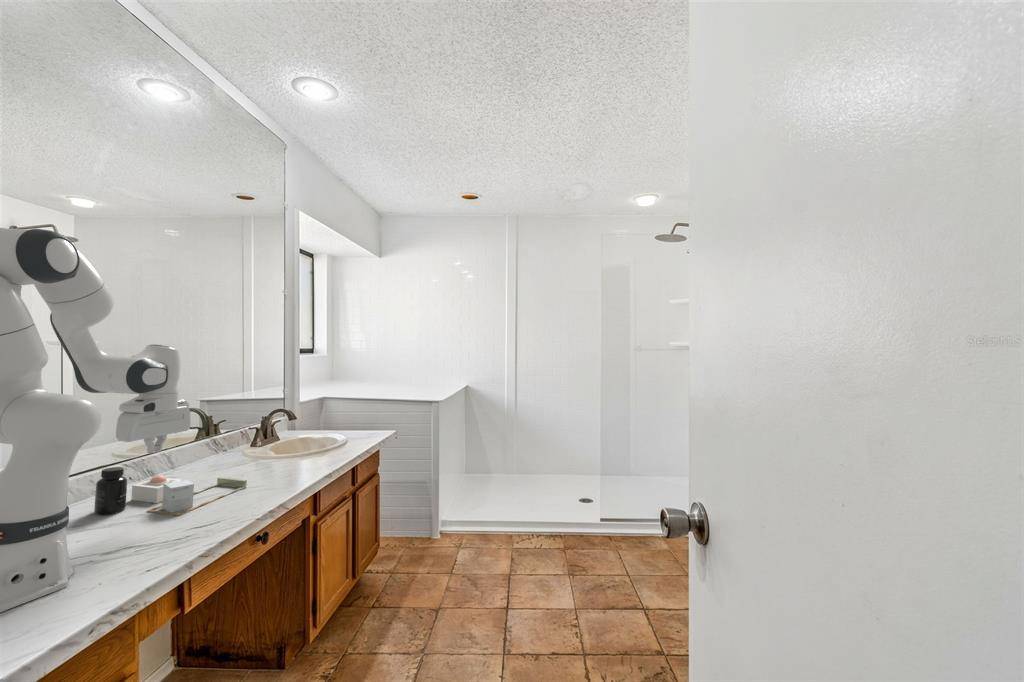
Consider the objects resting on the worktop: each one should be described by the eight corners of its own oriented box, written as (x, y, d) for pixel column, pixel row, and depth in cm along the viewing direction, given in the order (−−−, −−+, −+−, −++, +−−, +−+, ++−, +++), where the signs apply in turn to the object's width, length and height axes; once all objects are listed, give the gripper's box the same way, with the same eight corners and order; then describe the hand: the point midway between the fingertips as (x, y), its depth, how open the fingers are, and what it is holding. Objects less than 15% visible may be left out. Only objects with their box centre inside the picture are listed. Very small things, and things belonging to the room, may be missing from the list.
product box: (168, 513, 132) (169, 488, 132) (161, 508, 136) (162, 483, 136) (193, 508, 137) (194, 483, 137) (185, 503, 141) (187, 479, 141)
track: (178, 515, 131) (178, 507, 131) (146, 512, 132) (146, 503, 132) (246, 487, 157) (246, 480, 157) (219, 484, 159) (219, 477, 159)
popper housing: (157, 503, 139) (157, 488, 139) (131, 500, 140) (132, 485, 140) (182, 493, 148) (183, 479, 148) (158, 490, 149) (158, 477, 149)
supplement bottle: (127, 511, 132) (129, 469, 132) (95, 517, 127) (98, 473, 127) (123, 504, 136) (126, 464, 136) (92, 510, 131) (95, 468, 131)
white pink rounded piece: (157, 499, 141) (158, 478, 141) (141, 497, 142) (142, 477, 142) (173, 493, 146) (174, 473, 146) (157, 491, 147) (159, 472, 147)
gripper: (179, 398, 139) (175, 444, 139) (113, 405, 119) (108, 459, 119) (198, 400, 139) (194, 445, 138) (134, 407, 118) (130, 461, 118)
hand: (154, 452), depth 128 cm, fingers closed
